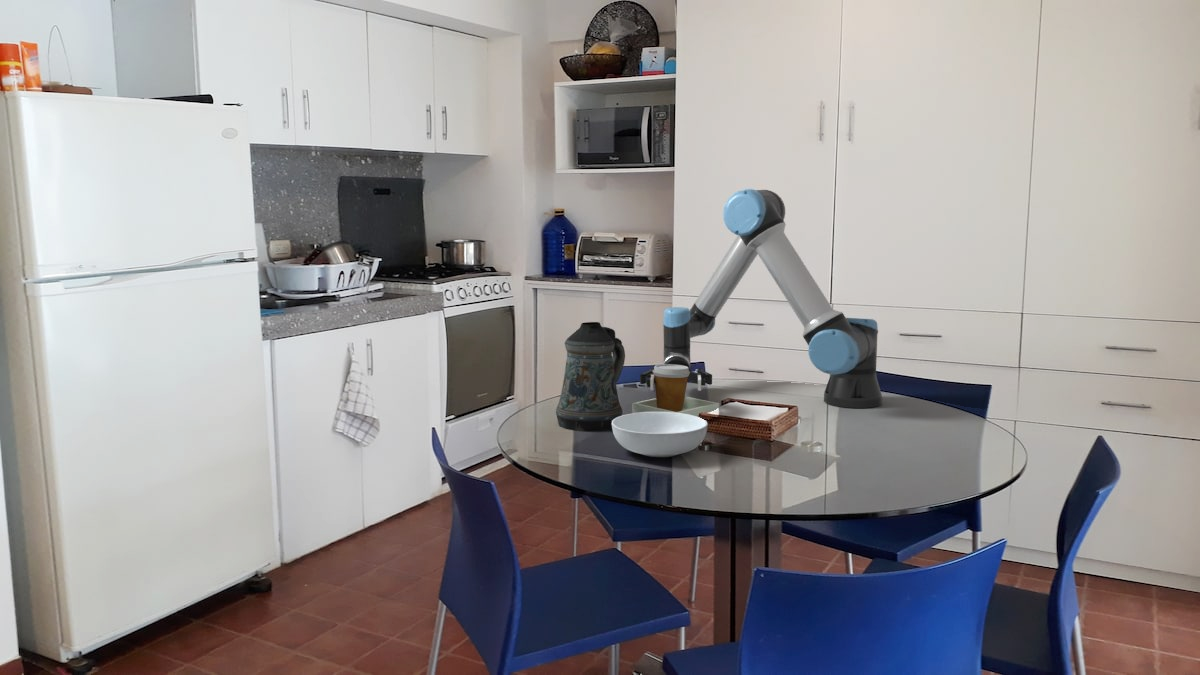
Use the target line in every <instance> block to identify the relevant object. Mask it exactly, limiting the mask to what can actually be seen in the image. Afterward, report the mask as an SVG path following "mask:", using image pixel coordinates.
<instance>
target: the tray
mask: <svg viewBox="0 0 1200 675" xmlns="http://www.w3.org/2000/svg"><path fill="white" fill-rule="evenodd" d="M631 408H632V409H631V410H632V413H639V412H674V411H669V410H665V409H660V408H657V402H656V397H655V398H651V399H646V400H641V401H636V402H632V405H631ZM717 408H719V409H720V402H715V401H710V400H705V399H701V398H695V397H691V396H686V395H685V398H684V404H683V410H682V411H680V412H675V413H683V414H689V415H693V416H697V417H698V415H699V413H701V412H711V411H714V410H716V409H717Z"/></svg>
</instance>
